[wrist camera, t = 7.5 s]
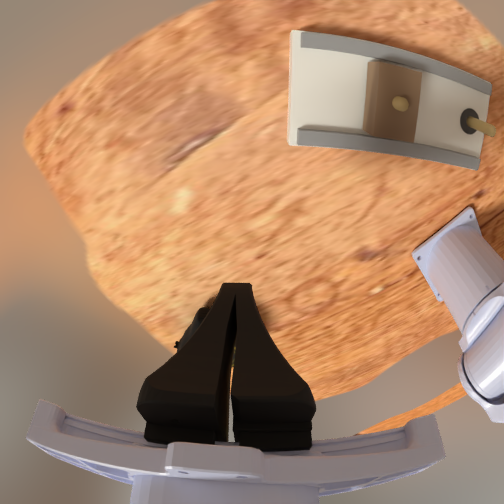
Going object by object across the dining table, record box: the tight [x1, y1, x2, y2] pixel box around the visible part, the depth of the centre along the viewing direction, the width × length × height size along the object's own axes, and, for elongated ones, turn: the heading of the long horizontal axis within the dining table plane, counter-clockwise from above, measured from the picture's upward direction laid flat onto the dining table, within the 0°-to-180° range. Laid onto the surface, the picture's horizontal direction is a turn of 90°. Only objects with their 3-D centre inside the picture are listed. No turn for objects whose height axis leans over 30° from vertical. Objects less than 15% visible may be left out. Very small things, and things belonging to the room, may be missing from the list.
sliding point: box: [362, 62, 422, 143], centre depth 15 cm, size 3×5×2 cm, turn 0°
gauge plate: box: [287, 30, 496, 171], centre depth 16 cm, size 16×8×4 cm, turn 90°
